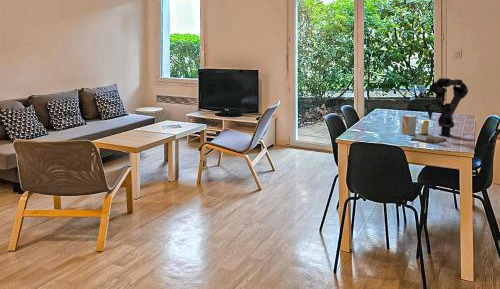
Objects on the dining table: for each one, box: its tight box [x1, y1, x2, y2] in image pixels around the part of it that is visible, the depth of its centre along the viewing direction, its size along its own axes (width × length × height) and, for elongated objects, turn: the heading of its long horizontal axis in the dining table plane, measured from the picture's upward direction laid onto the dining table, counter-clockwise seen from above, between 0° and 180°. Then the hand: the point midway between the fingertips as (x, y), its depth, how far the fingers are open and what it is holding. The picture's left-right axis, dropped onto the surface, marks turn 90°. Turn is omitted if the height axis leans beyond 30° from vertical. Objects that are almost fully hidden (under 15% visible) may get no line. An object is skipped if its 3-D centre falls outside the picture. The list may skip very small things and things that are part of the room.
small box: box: [401, 114, 417, 136], centre depth 319 cm, size 8×6×13 cm
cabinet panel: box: [410, 136, 447, 144], centre depth 299 cm, size 16×16×1 cm
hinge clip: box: [415, 132, 434, 141], centre depth 297 cm, size 8×8×3 cm
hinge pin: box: [420, 119, 430, 136], centre depth 296 cm, size 4×4×12 cm
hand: (436, 119), depth 299 cm, fingers open, 9 cm apart
